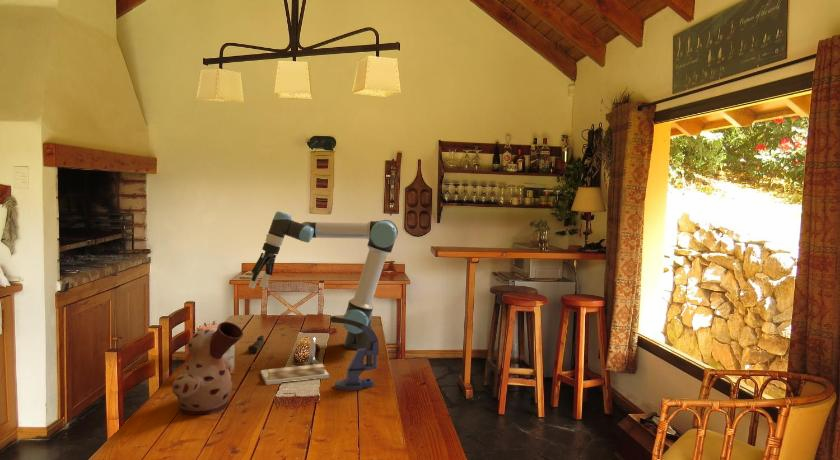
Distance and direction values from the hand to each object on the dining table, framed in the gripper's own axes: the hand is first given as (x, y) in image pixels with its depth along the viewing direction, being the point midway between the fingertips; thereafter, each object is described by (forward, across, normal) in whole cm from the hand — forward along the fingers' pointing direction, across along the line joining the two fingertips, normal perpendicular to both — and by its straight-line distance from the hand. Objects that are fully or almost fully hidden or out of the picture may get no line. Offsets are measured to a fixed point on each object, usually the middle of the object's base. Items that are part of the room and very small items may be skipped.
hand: (256, 287), depth 264 cm
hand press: (+18, +33, +62) cm, 73 cm away
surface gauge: (+21, +19, +42) cm, 50 cm away
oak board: (+23, +28, +38) cm, 53 cm away
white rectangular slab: (+25, +25, +37) cm, 51 cm away
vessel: (+35, +61, +21) cm, 73 cm away
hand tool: (+29, -11, +6) cm, 32 cm away
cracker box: (+35, +30, +7) cm, 47 cm away
